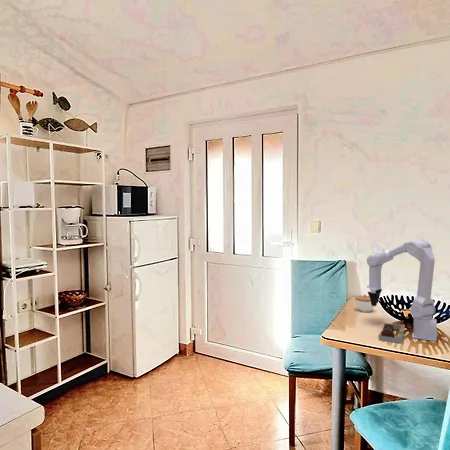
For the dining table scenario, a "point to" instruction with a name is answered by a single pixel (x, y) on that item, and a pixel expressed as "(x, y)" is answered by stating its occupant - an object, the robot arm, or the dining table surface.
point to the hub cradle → (394, 339)
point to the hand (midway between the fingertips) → (374, 304)
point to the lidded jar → (364, 303)
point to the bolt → (388, 330)
